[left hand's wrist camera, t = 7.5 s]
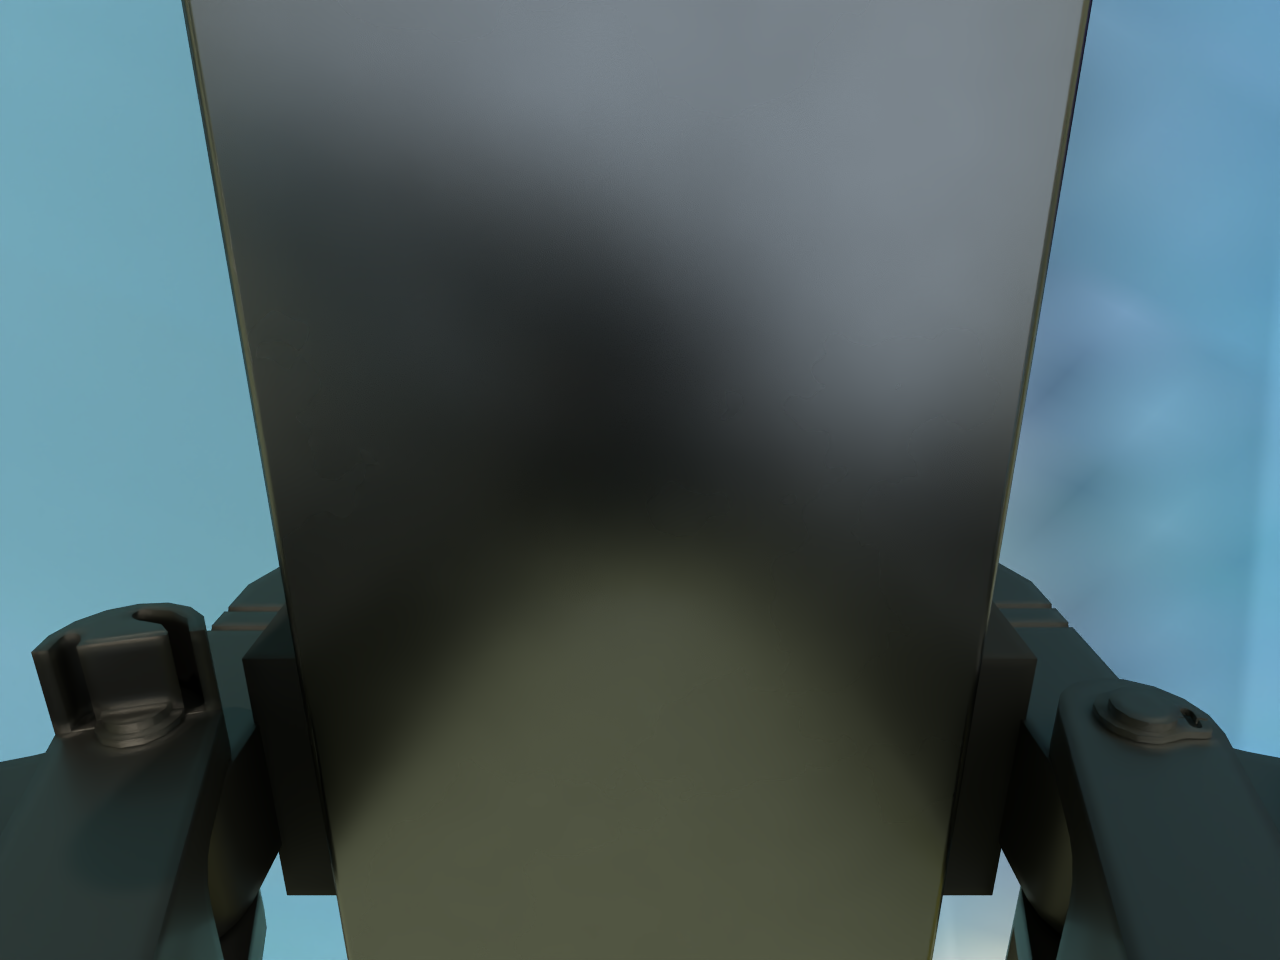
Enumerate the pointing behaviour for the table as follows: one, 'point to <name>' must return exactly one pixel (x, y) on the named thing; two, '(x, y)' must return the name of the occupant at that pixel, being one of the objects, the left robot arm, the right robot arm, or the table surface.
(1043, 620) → the left robot arm
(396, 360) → the bar
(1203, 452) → the table surface
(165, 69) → the table surface
